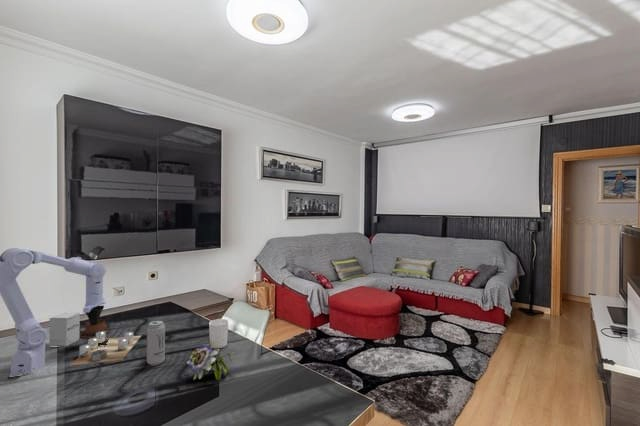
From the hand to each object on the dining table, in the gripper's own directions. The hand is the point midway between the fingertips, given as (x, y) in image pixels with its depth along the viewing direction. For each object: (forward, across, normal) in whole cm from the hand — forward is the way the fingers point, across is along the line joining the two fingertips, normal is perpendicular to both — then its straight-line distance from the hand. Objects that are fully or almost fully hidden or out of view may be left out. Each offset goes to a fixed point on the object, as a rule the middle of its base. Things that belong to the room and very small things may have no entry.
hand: (94, 324), depth 127 cm
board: (+10, -4, -7) cm, 13 cm away
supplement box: (+10, +8, +14) cm, 19 cm away
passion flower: (+10, -34, -48) cm, 60 cm away
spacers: (+9, -2, -7) cm, 11 cm away
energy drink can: (+10, -20, -28) cm, 36 cm away
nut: (+9, -13, -6) cm, 17 cm away
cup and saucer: (+10, +16, +6) cm, 20 cm away
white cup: (+10, -10, -50) cm, 52 cm away
